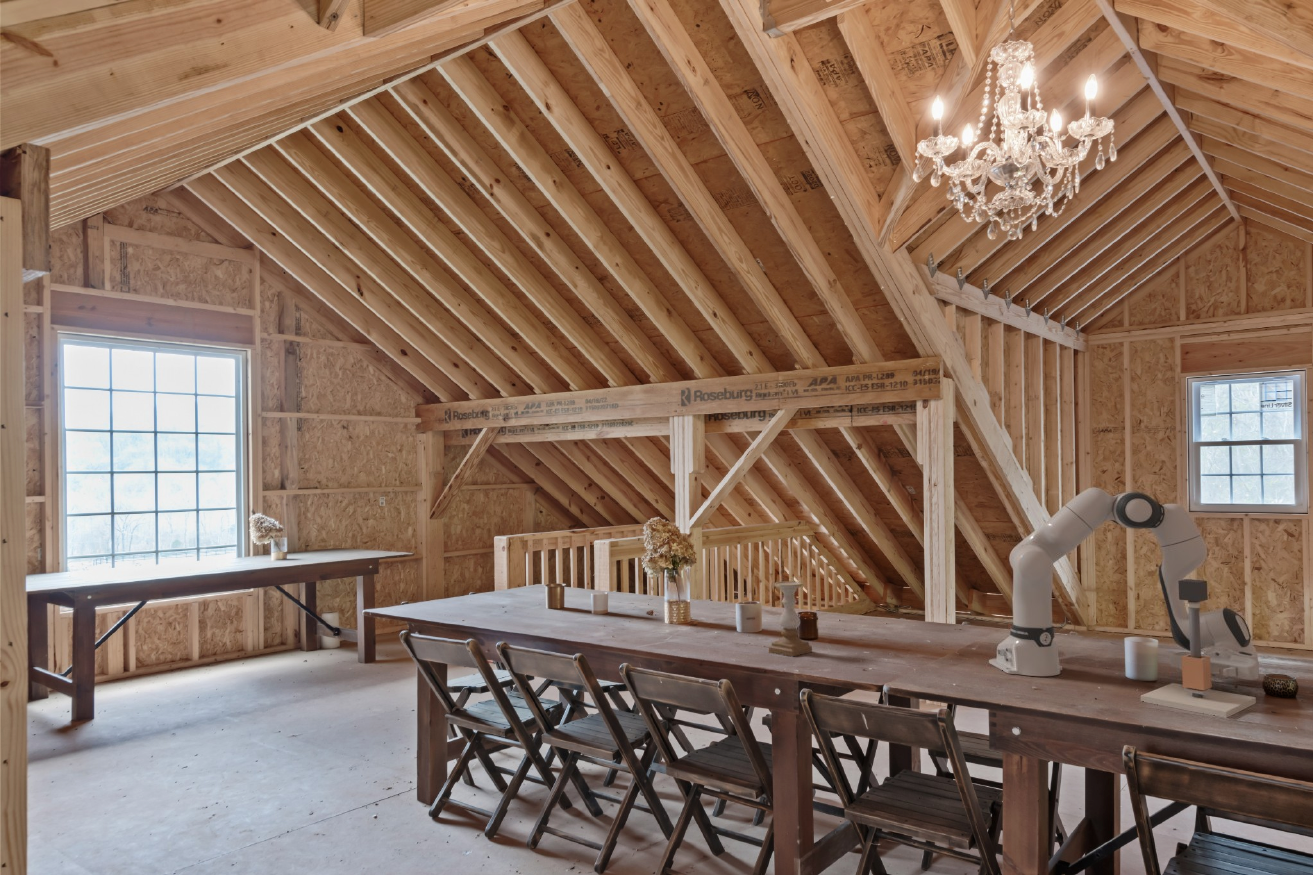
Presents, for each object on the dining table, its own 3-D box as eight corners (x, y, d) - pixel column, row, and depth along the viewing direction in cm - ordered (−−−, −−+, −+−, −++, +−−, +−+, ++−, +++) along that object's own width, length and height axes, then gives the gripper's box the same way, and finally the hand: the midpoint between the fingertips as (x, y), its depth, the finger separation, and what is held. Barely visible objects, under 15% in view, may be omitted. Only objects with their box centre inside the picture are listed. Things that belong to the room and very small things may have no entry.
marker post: (1140, 701, 226) (1135, 580, 227) (1172, 688, 238) (1168, 573, 239) (1226, 717, 210) (1220, 588, 211) (1255, 703, 222) (1250, 580, 223)
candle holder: (793, 657, 286) (791, 586, 287) (768, 652, 294) (766, 583, 295) (812, 651, 294) (810, 582, 294) (787, 647, 302) (786, 580, 302)
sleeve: (1182, 686, 224) (1181, 656, 225) (1190, 683, 227) (1189, 653, 228) (1203, 690, 220) (1202, 659, 221) (1211, 687, 223) (1210, 656, 224)
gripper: (1180, 644, 243) (1159, 651, 235) (1264, 656, 227) (1245, 664, 218) (1181, 666, 243) (1160, 674, 235) (1265, 680, 227) (1246, 689, 218)
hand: (1202, 669), depth 226 cm, fingers open, 8 cm apart
